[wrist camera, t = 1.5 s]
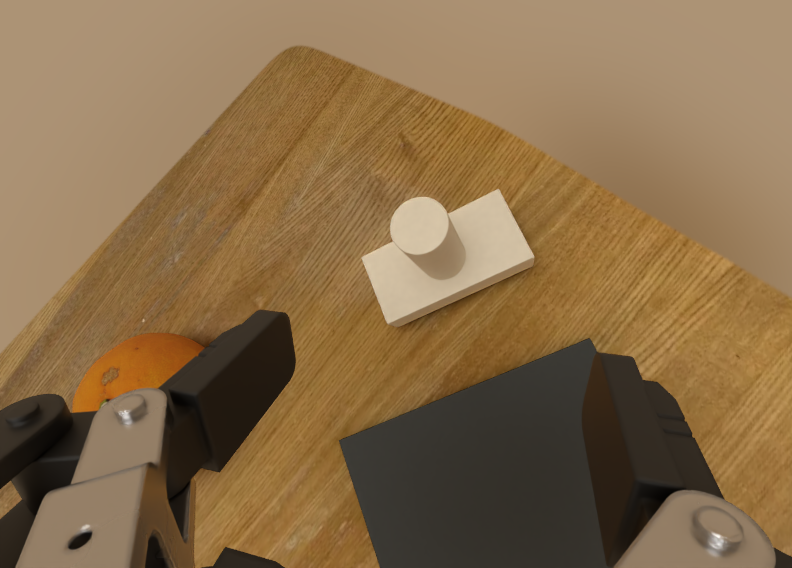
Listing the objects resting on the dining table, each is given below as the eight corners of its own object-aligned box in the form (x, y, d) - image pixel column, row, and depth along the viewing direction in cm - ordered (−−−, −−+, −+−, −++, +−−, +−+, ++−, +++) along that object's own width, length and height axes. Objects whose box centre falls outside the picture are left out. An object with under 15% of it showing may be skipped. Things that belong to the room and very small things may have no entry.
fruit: (250, 328, 33) (169, 317, 26) (252, 469, 31) (164, 503, 23) (146, 342, 36) (46, 336, 28) (140, 473, 34) (30, 504, 26)
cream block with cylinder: (500, 205, 29) (491, 135, 20) (533, 268, 28) (538, 222, 19) (375, 267, 31) (316, 227, 22) (400, 328, 30) (347, 312, 21)
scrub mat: (588, 338, 26) (590, 338, 26) (719, 582, 22) (722, 586, 22) (341, 439, 29) (338, 440, 29) (415, 667, 25) (413, 671, 25)
